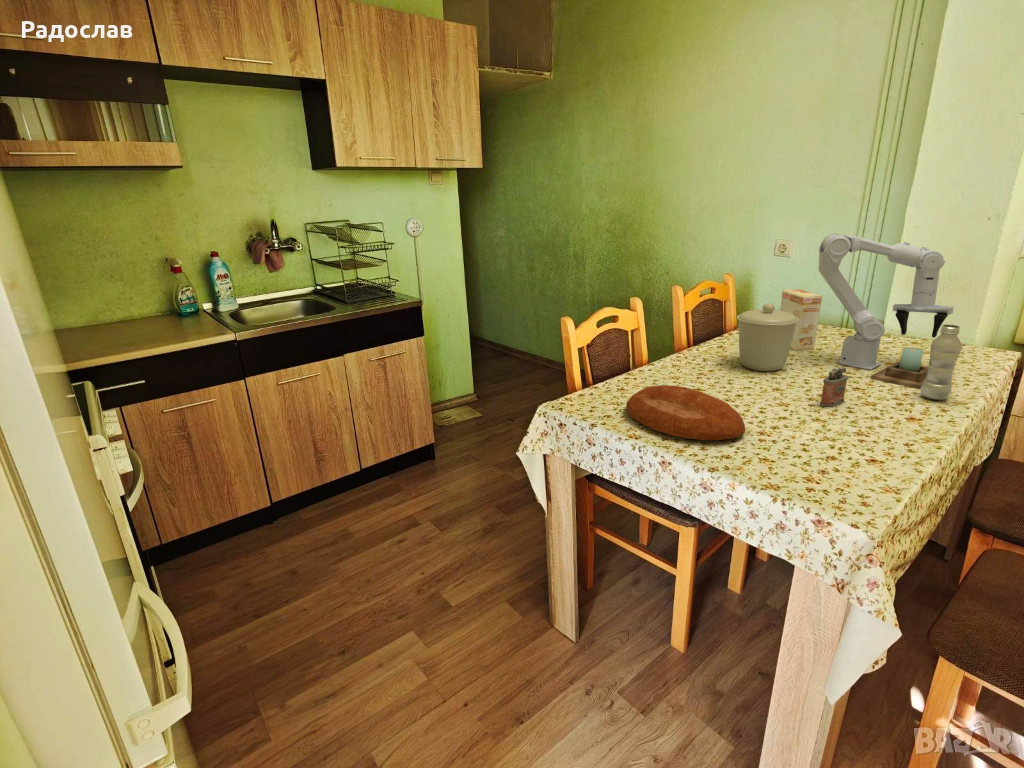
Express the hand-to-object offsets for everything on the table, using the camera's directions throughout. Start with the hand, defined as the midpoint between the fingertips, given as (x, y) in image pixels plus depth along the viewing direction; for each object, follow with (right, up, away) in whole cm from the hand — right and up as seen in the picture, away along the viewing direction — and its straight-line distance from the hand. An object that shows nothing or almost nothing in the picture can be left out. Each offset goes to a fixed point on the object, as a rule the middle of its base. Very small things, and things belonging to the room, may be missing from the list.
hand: (918, 335), depth 161 cm
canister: (-43, -9, +11) cm, 46 cm away
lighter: (-39, -21, -20) cm, 49 cm away
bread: (-82, -25, -26) cm, 90 cm away
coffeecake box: (-21, -1, +33) cm, 39 cm away
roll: (-8, -12, -6) cm, 16 cm away
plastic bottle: (-12, -19, -20) cm, 30 cm away
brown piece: (-8, -13, -5) cm, 16 cm away
